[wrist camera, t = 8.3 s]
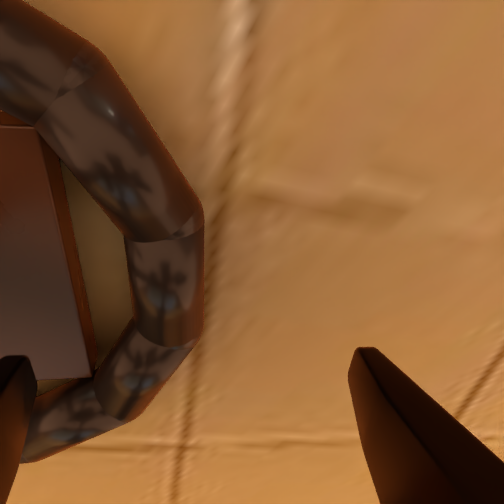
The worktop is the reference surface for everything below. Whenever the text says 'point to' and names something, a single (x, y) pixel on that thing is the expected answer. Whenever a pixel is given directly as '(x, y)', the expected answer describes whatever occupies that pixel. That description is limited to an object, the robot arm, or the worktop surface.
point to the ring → (121, 214)
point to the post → (40, 261)
